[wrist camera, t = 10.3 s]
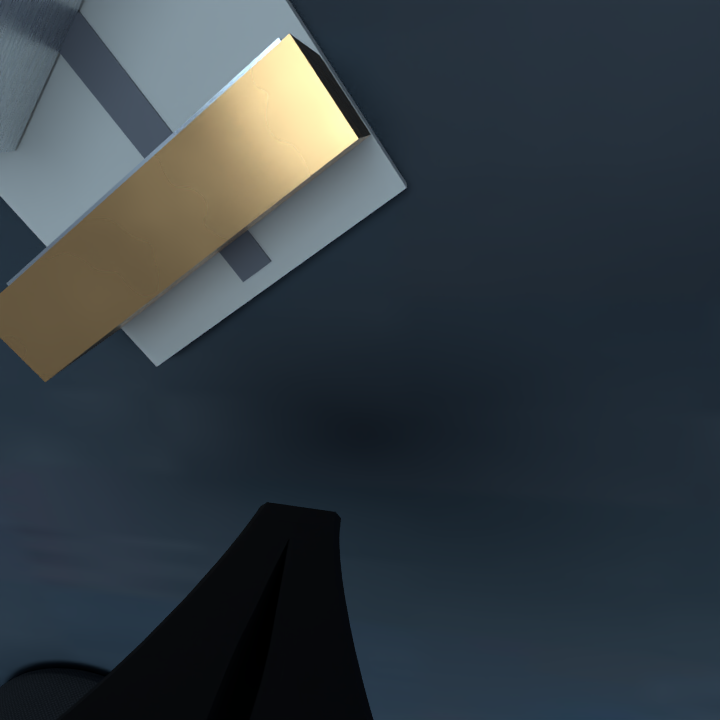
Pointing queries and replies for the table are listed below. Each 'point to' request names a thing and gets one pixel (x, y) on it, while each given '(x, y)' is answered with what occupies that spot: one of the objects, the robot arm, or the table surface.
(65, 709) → the smart speaker
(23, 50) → the steel block
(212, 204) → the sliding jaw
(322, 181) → the vise base
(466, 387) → the table surface
